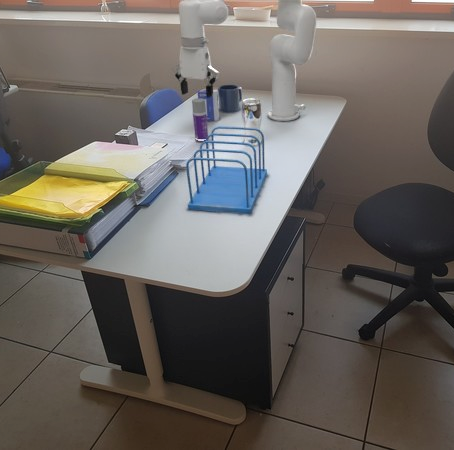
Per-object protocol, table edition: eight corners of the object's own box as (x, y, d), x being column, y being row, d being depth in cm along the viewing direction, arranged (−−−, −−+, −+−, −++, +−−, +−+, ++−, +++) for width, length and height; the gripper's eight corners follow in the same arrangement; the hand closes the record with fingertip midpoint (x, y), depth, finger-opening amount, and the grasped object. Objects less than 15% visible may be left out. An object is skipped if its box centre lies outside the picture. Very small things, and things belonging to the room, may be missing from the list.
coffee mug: (229, 113, 195) (228, 91, 190) (215, 109, 200) (213, 87, 195) (249, 107, 203) (248, 85, 198) (234, 103, 208) (233, 81, 203)
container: (206, 143, 166) (202, 102, 159) (193, 142, 167) (189, 101, 159) (210, 139, 170) (207, 98, 162) (197, 138, 171) (194, 97, 163)
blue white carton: (199, 121, 187) (197, 91, 181) (199, 119, 189) (197, 89, 183) (219, 120, 188) (217, 90, 182) (219, 118, 190) (217, 88, 184)
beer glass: (265, 140, 169) (264, 99, 161) (258, 147, 163) (257, 105, 155) (247, 138, 171) (245, 97, 163) (240, 144, 165) (238, 103, 157)
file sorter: (213, 171, 146) (209, 124, 138) (267, 175, 144) (267, 127, 136) (187, 210, 125) (182, 157, 117) (250, 215, 123) (249, 161, 115)
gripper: (222, 42, 151) (224, 95, 160) (176, 38, 157) (181, 89, 166) (211, 46, 145) (214, 100, 154) (164, 42, 151) (169, 95, 160)
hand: (197, 95), depth 160 cm, fingers open, 9 cm apart
